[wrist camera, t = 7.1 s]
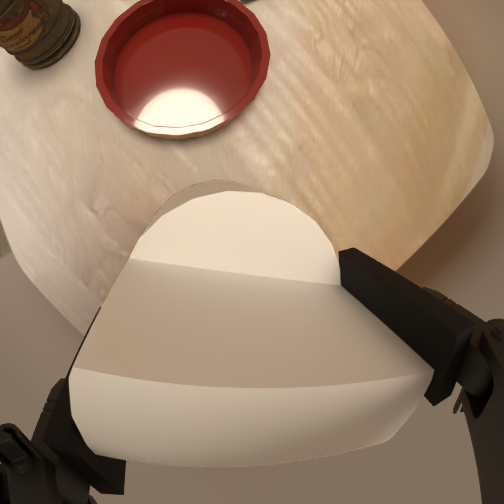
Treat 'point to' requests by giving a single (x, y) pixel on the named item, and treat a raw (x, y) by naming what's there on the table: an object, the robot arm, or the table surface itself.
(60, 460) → the robot arm
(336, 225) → the table surface
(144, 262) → the base with upright slab
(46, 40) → the container
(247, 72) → the red round dish
